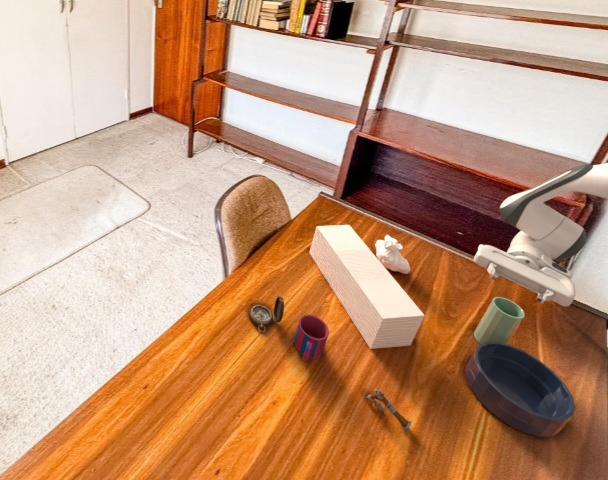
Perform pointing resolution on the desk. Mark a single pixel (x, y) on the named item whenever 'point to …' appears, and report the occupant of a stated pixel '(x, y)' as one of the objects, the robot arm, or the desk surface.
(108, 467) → the desk surface
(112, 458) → the desk surface
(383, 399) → the brown grey jointed rod
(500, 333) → the green cup
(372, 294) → the stack of papers
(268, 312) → the compass
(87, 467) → the desk surface
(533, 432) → the wash bowl
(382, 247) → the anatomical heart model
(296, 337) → the mug
